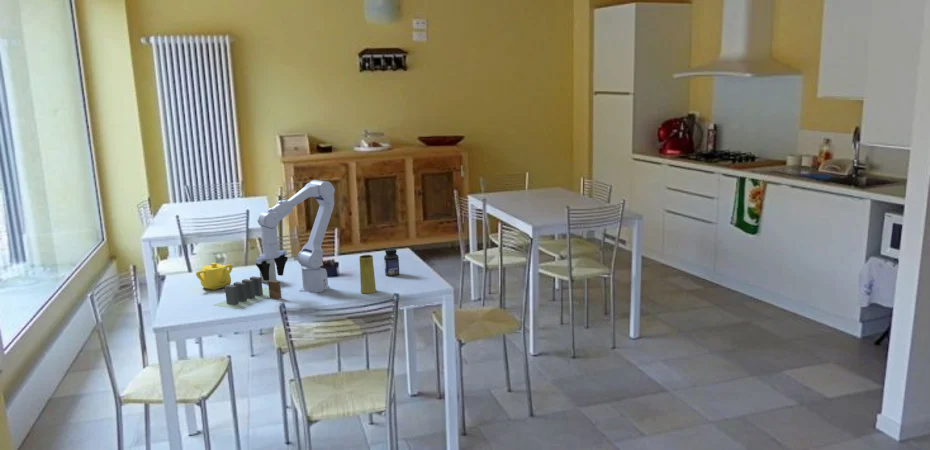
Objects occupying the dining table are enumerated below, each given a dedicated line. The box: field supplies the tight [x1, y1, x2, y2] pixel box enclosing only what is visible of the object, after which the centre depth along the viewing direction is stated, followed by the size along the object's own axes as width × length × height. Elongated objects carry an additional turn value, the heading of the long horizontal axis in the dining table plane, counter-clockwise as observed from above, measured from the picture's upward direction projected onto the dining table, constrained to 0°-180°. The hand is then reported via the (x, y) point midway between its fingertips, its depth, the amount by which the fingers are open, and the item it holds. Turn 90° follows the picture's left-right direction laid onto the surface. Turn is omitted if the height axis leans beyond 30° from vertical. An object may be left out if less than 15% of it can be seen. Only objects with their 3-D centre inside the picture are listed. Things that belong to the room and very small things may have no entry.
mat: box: [214, 287, 283, 310], centre depth 276 cm, size 25×12×1 cm, turn 151°
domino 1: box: [224, 284, 239, 305], centre depth 268 cm, size 2×4×7 cm, turn 61°
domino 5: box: [267, 280, 282, 300], centre depth 273 cm, size 2×4×7 cm, turn 61°
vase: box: [359, 254, 377, 295], centre depth 277 cm, size 6×6×14 cm
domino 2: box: [232, 281, 247, 302], centre depth 271 cm, size 2×4×7 cm, turn 61°
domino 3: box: [241, 278, 255, 299], centre depth 275 cm, size 2×4×7 cm, turn 61°
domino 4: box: [249, 276, 263, 296], centre depth 278 cm, size 2×4×7 cm, turn 61°
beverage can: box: [258, 253, 277, 284], centre depth 297 cm, size 6×6×12 cm
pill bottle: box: [383, 248, 400, 277], centre depth 301 cm, size 6×6×11 cm
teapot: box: [195, 262, 233, 291], centre depth 292 cm, size 14×13×10 cm
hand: (273, 277), depth 272 cm, fingers open, 7 cm apart
